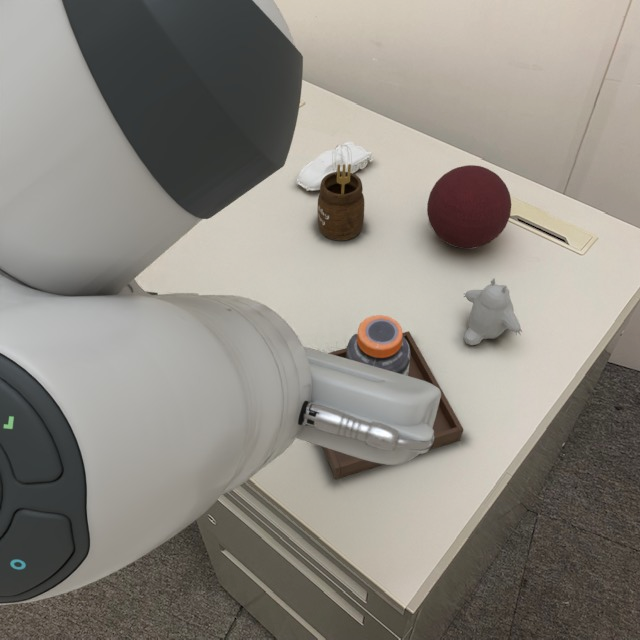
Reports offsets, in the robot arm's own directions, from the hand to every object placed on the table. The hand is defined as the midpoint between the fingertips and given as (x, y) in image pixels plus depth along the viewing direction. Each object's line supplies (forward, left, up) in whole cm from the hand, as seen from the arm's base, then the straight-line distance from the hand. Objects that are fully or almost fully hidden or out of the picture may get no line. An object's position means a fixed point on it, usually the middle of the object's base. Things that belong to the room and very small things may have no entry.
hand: (297, 359), depth 44 cm
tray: (+10, +7, -20) cm, 24 cm away
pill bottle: (+10, +7, -20) cm, 23 cm away
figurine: (+25, +12, -21) cm, 34 cm away
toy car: (+19, +45, -21) cm, 53 cm away
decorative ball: (+30, +27, -21) cm, 45 cm away
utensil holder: (+16, +34, -21) cm, 43 cm away
